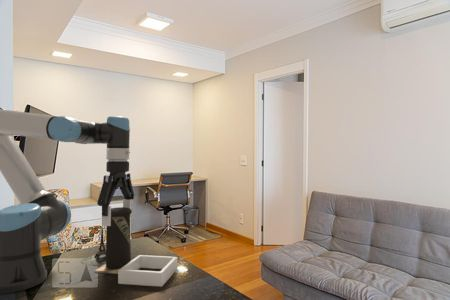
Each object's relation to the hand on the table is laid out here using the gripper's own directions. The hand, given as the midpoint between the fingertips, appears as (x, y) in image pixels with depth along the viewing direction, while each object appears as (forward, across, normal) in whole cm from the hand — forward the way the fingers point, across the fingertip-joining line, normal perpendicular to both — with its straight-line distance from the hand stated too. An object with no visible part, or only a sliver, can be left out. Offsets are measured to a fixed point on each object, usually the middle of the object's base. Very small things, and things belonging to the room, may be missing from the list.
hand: (117, 221), depth 103 cm
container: (+16, 0, -1) cm, 16 cm away
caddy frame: (+16, -5, -15) cm, 22 cm away
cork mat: (+16, 0, -1) cm, 16 cm away
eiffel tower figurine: (+17, +8, +11) cm, 22 cm away
